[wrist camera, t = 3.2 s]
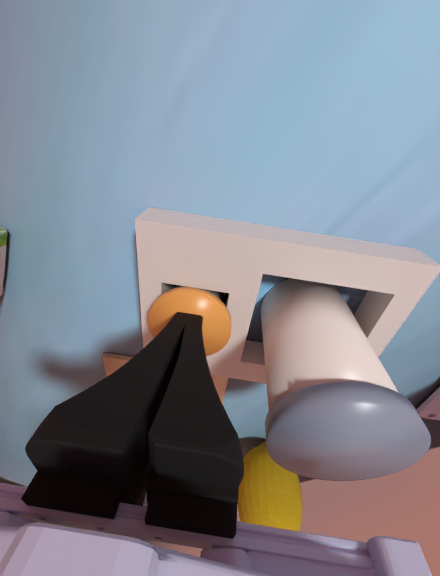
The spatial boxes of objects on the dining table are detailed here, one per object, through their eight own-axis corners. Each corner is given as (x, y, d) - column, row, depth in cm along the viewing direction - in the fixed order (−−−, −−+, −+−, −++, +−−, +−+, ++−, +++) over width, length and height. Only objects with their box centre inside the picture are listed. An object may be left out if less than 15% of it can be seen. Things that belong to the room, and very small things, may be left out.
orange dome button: (239, 270, 14) (237, 301, 12) (228, 327, 16) (224, 363, 14) (163, 259, 14) (145, 287, 12) (163, 317, 16) (148, 350, 14)
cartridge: (362, 280, 14) (470, 420, 7) (327, 346, 17) (381, 489, 10) (268, 266, 14) (289, 392, 7) (250, 334, 17) (253, 468, 10)
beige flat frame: (417, 248, 13) (443, 266, 11) (340, 372, 18) (349, 397, 16) (149, 207, 13) (134, 219, 11) (153, 342, 18) (144, 364, 16)
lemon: (305, 442, 24) (328, 564, 17) (266, 459, 27) (273, 570, 20) (263, 419, 22) (271, 543, 16) (226, 440, 25) (219, 553, 18)
